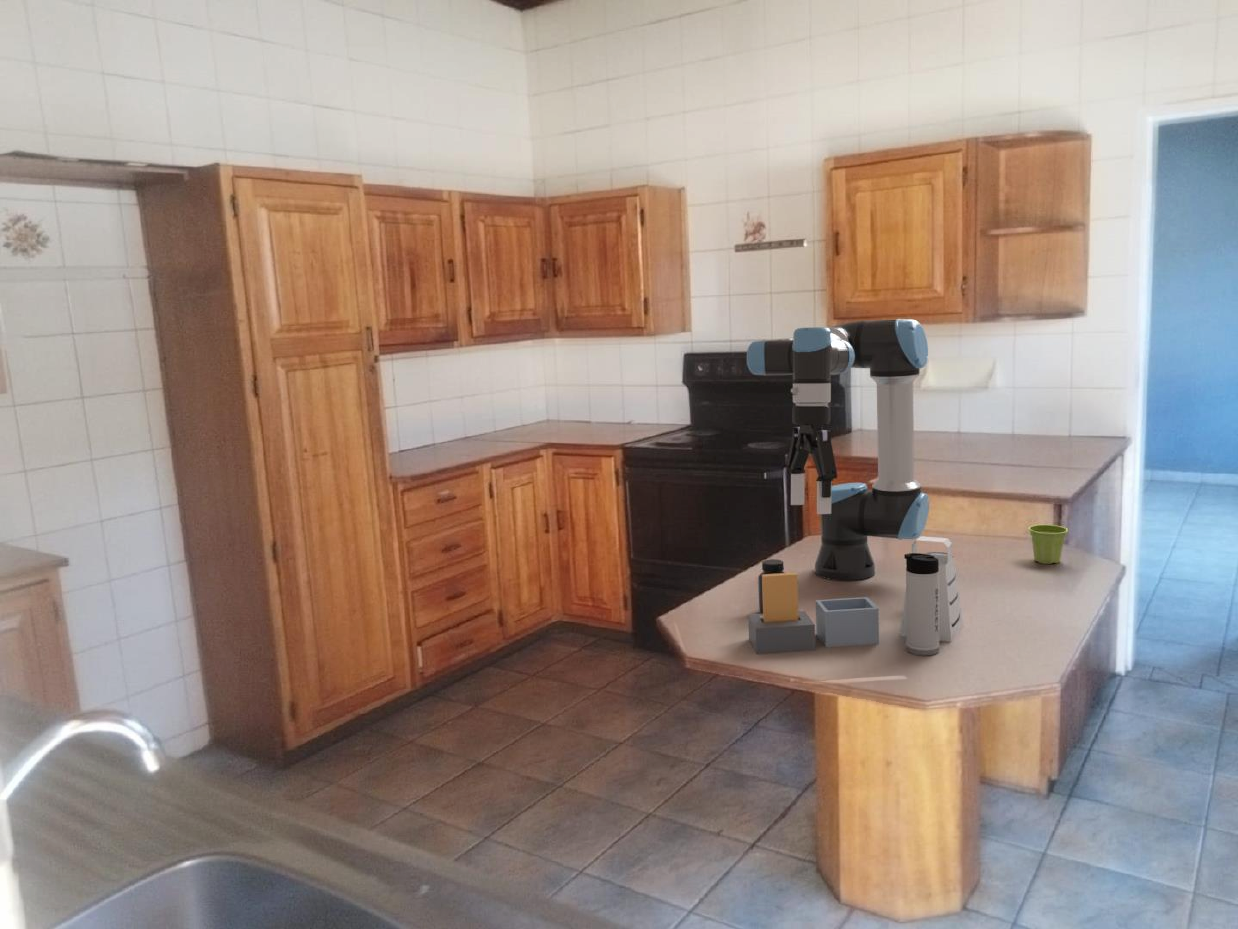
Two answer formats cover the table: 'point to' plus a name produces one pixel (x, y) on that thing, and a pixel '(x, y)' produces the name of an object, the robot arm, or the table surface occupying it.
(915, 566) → the travel mug
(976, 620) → the table surface
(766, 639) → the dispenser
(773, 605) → the orange rectangular block
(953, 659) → the table surface
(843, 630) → the bin
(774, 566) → the supplement bottle
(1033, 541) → the plant pot
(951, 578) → the grater
